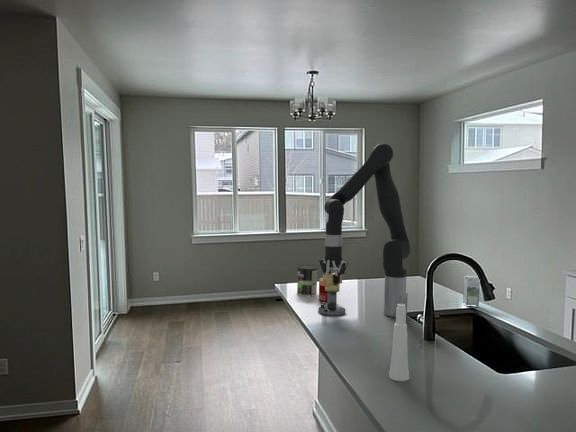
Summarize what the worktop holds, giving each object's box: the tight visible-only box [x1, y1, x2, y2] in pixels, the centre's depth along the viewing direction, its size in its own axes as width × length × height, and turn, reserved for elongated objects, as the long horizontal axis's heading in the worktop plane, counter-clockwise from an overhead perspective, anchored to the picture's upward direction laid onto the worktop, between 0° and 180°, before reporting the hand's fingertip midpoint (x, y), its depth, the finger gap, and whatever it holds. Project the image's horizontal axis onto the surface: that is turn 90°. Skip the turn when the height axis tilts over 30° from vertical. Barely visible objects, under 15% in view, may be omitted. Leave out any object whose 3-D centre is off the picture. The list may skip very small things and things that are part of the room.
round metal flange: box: [317, 292, 346, 317], centre depth 206 cm, size 12×12×10 cm
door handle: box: [320, 272, 343, 293], centre depth 205 cm, size 10×6×8 cm, turn 123°
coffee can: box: [296, 264, 318, 297], centre depth 239 cm, size 10×10×14 cm
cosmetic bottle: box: [388, 304, 410, 382], centre depth 137 cm, size 6×6×22 cm
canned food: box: [318, 277, 328, 304], centre depth 225 cm, size 8×8×11 cm
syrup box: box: [462, 274, 481, 306], centre depth 220 cm, size 6×6×14 cm
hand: (333, 283), depth 205 cm, fingers closed on door handle, 3 cm apart
